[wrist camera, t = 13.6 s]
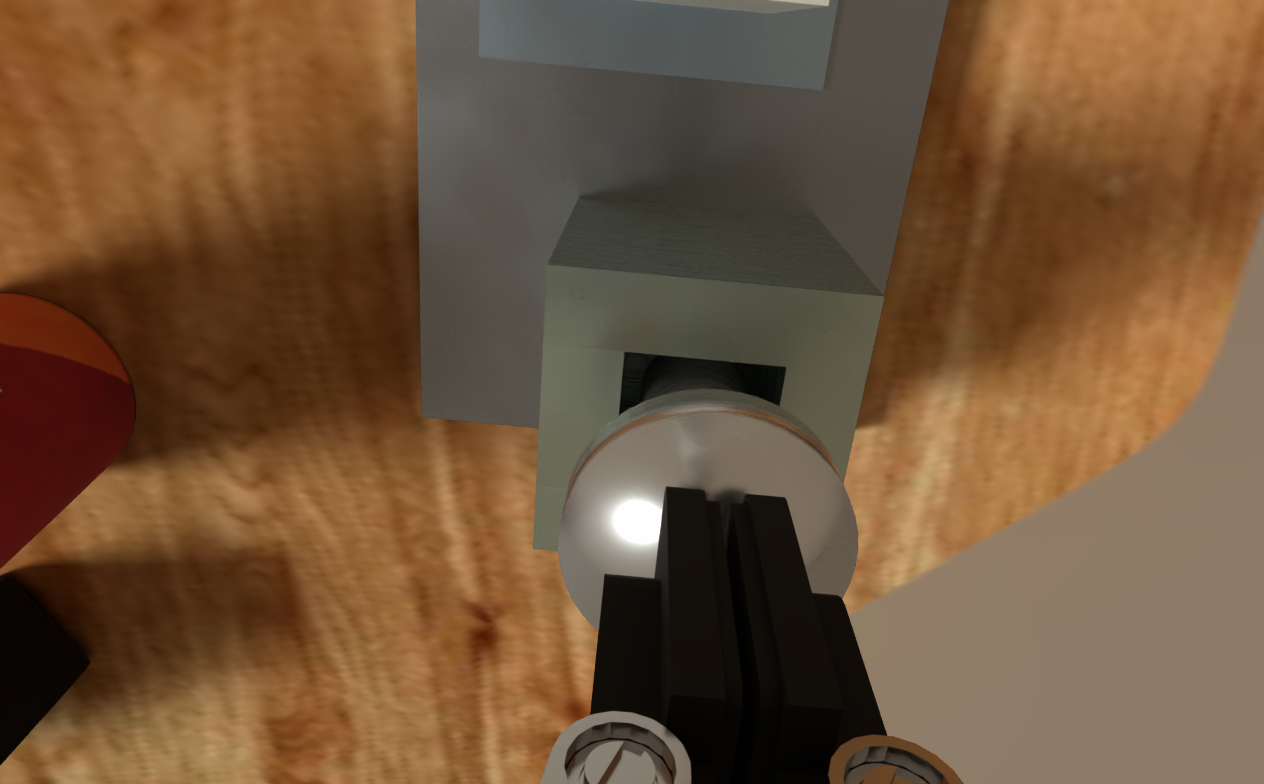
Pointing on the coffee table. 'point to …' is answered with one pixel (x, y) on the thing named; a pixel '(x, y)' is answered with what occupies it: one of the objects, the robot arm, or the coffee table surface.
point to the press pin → (698, 478)
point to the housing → (750, 4)
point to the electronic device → (30, 664)
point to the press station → (658, 206)
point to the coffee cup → (54, 413)
